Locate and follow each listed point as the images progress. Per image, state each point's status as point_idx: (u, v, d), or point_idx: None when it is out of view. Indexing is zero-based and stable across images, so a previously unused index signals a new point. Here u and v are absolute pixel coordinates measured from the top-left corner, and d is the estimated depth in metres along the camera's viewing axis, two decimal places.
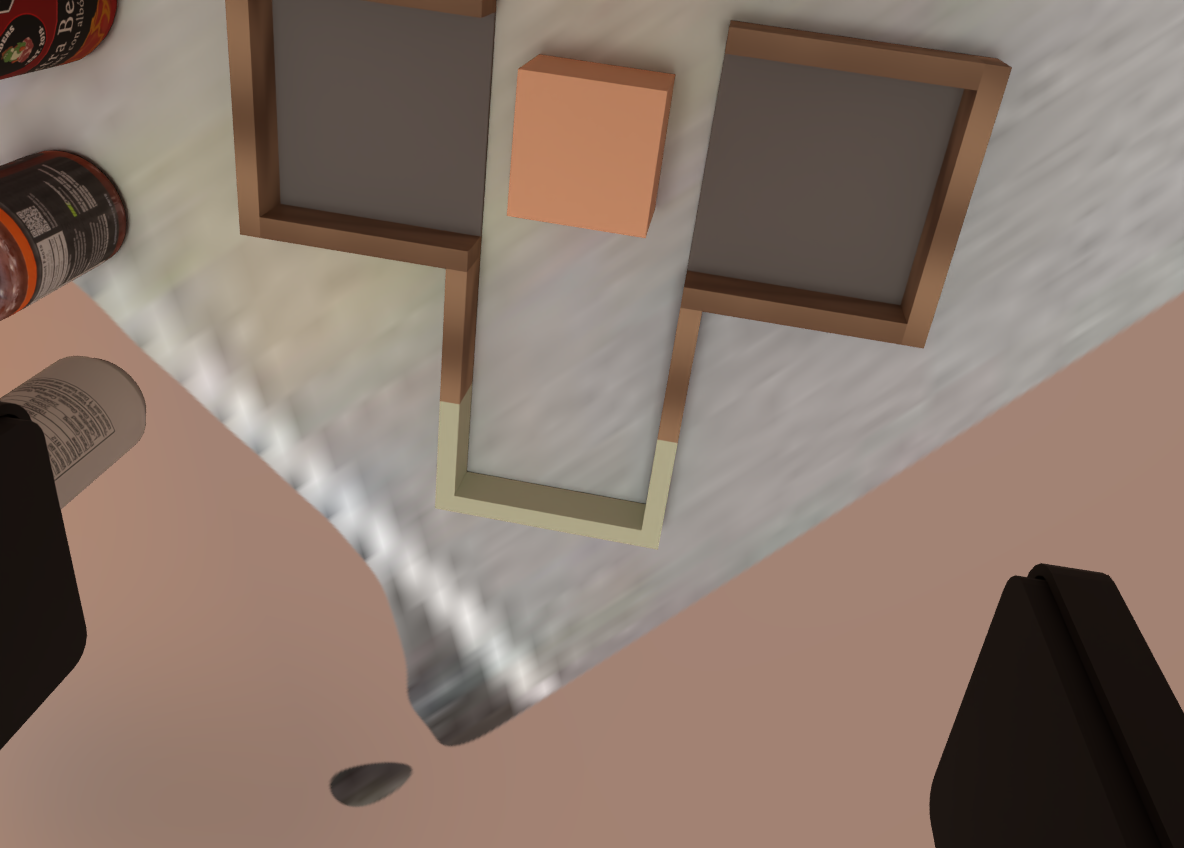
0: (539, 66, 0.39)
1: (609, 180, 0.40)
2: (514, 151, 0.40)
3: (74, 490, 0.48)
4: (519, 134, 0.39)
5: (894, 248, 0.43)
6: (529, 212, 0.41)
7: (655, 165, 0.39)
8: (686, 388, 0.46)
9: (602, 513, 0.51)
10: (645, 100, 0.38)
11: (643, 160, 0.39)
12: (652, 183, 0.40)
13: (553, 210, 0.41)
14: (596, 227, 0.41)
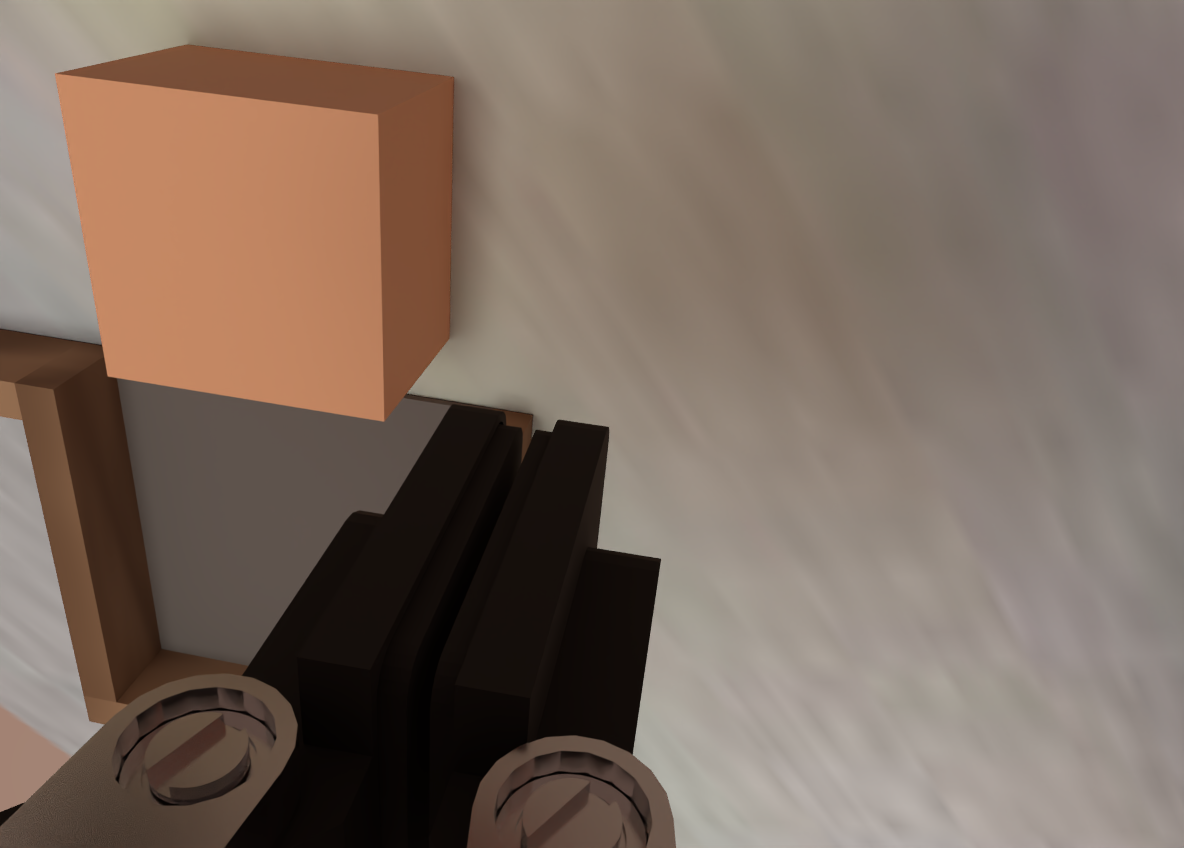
0: (404, 134, 0.18)
1: (195, 310, 0.19)
2: (200, 98, 0.17)
3: None
4: (240, 112, 0.17)
5: (237, 639, 0.29)
6: (79, 130, 0.18)
7: (247, 396, 0.20)
8: None
9: None
10: (360, 383, 0.19)
11: (251, 376, 0.19)
12: (212, 391, 0.20)
13: (100, 186, 0.18)
14: (96, 281, 0.19)
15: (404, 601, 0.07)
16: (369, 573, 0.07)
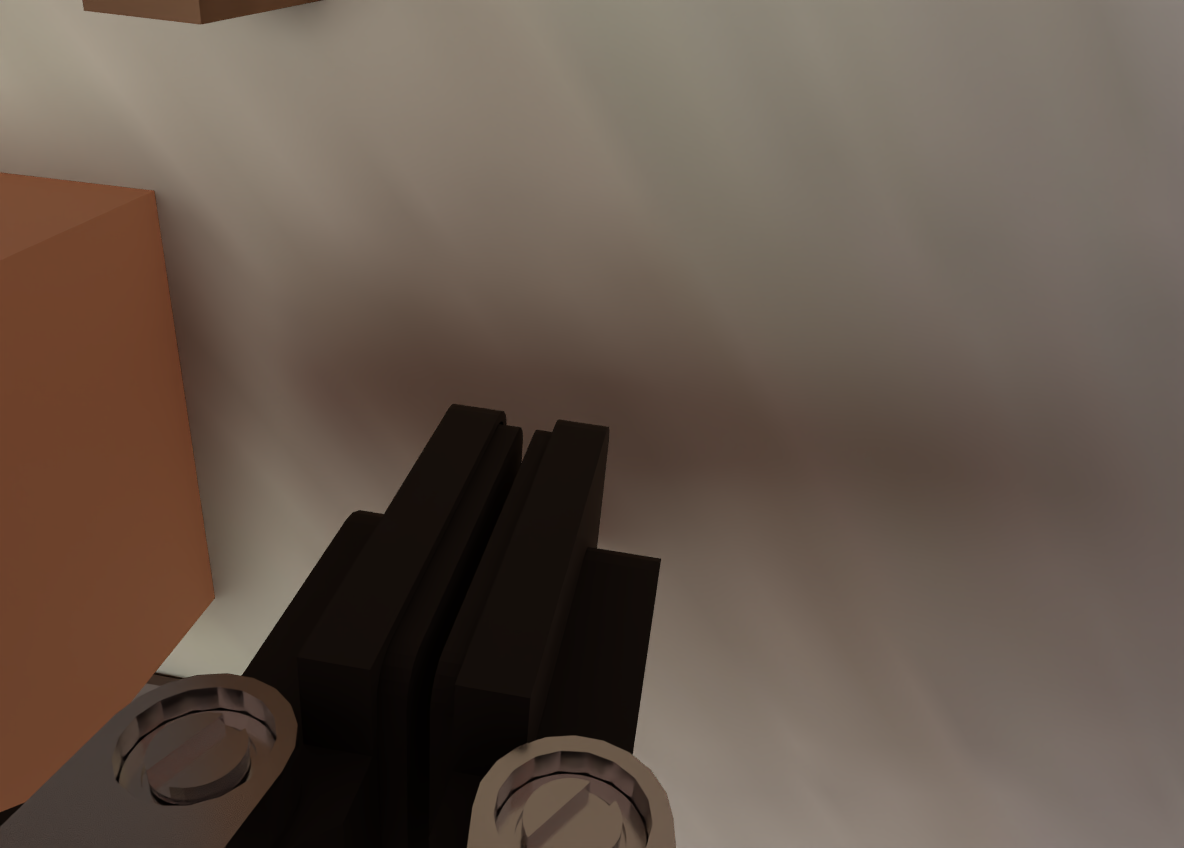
0: None
1: None
2: None
3: None
4: None
5: None
6: None
7: None
8: None
9: None
10: None
11: None
12: None
13: None
14: None
15: (406, 601, 0.07)
16: (369, 573, 0.07)
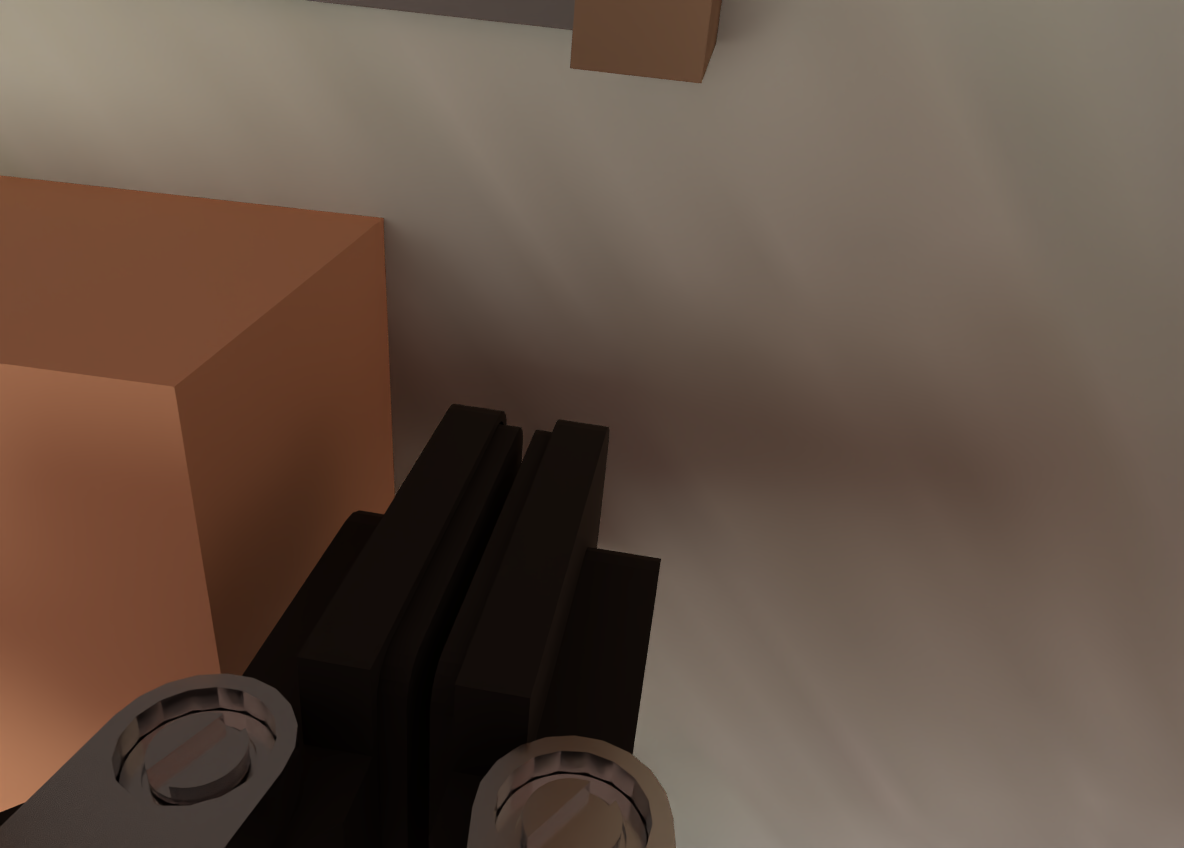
0: (265, 381, 0.08)
1: None
2: None
3: None
4: None
5: None
6: None
7: None
8: None
9: None
10: None
11: None
12: None
13: None
14: None
15: (404, 601, 0.07)
16: (369, 573, 0.07)
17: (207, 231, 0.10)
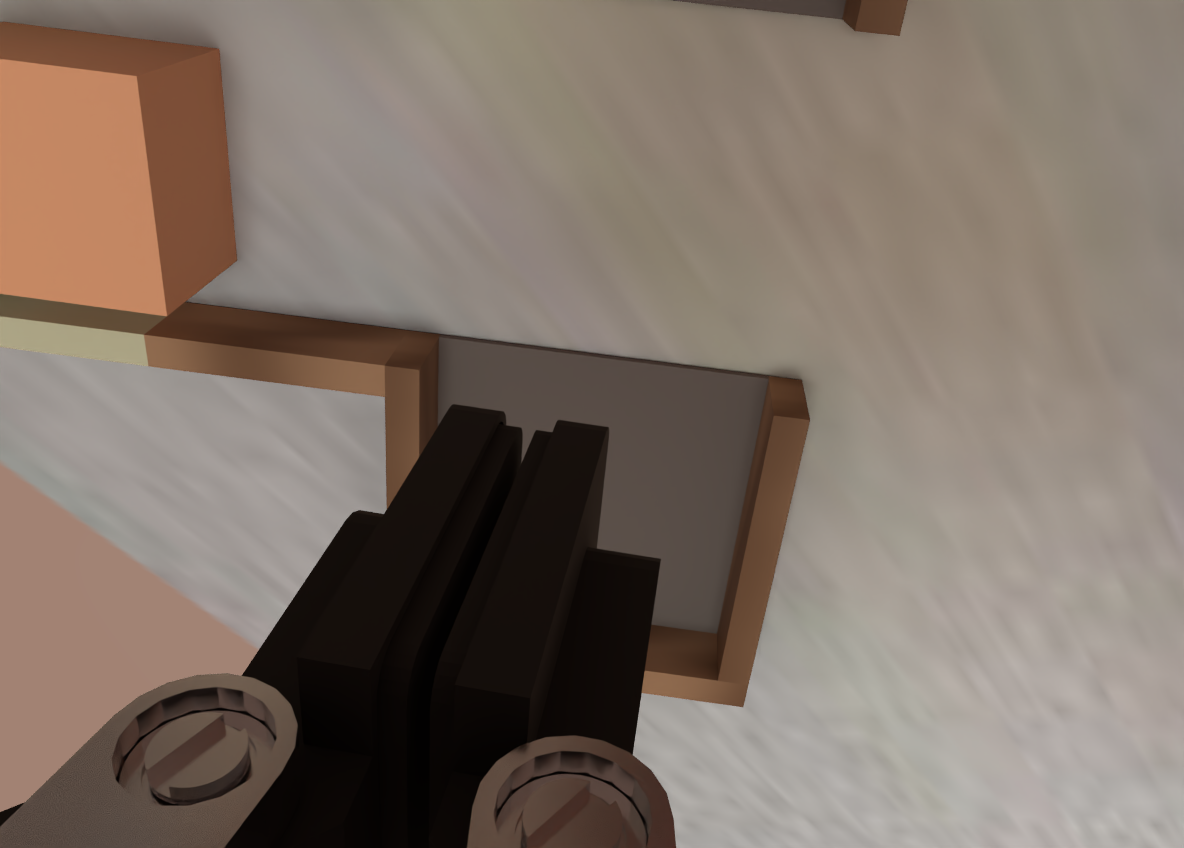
0: (167, 92, 0.24)
1: (11, 230, 0.24)
2: (0, 64, 0.22)
3: None
4: (32, 74, 0.22)
5: None
6: None
7: (59, 299, 0.25)
8: (249, 377, 0.28)
9: None
10: (145, 286, 0.25)
11: (59, 282, 0.25)
12: (30, 296, 0.25)
13: None
14: None
15: (406, 601, 0.07)
16: (369, 573, 0.07)
17: (144, 47, 0.25)
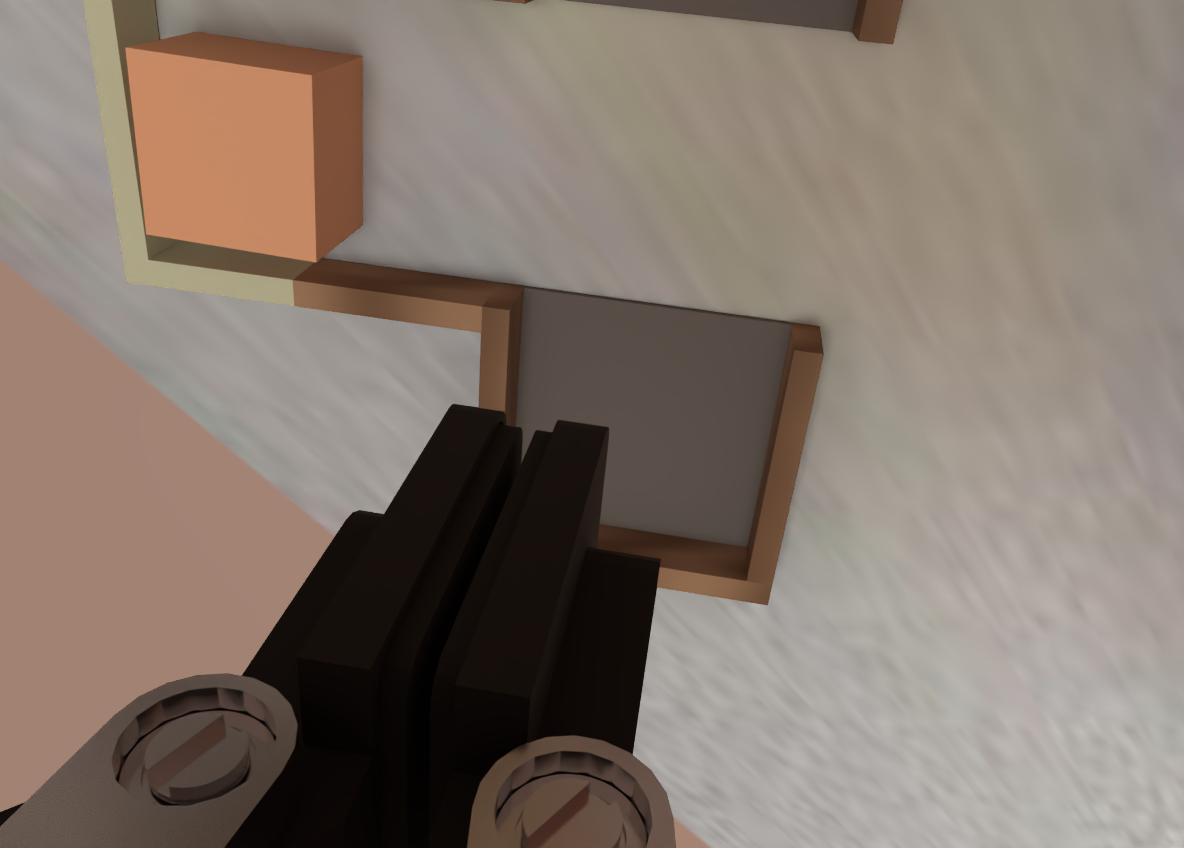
0: (328, 88, 0.31)
1: (202, 192, 0.32)
2: (210, 64, 0.30)
3: None
4: (233, 72, 0.30)
5: None
6: (137, 81, 0.30)
7: (233, 247, 0.32)
8: (374, 315, 0.35)
9: None
10: (301, 237, 0.32)
11: (235, 233, 0.32)
12: (211, 244, 0.32)
13: (148, 114, 0.31)
14: (142, 172, 0.32)
15: (406, 601, 0.07)
16: (369, 573, 0.07)
17: (307, 54, 0.32)
